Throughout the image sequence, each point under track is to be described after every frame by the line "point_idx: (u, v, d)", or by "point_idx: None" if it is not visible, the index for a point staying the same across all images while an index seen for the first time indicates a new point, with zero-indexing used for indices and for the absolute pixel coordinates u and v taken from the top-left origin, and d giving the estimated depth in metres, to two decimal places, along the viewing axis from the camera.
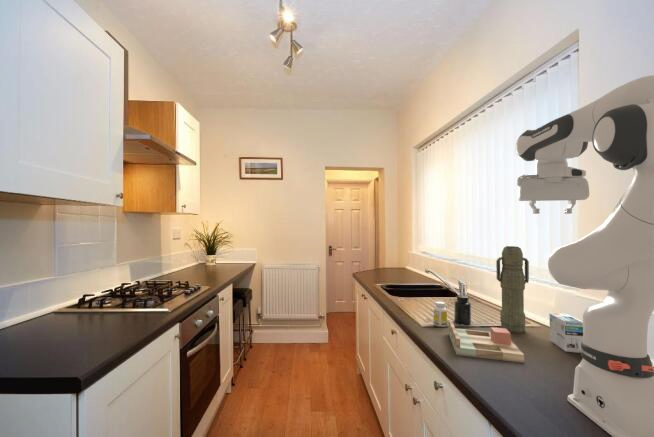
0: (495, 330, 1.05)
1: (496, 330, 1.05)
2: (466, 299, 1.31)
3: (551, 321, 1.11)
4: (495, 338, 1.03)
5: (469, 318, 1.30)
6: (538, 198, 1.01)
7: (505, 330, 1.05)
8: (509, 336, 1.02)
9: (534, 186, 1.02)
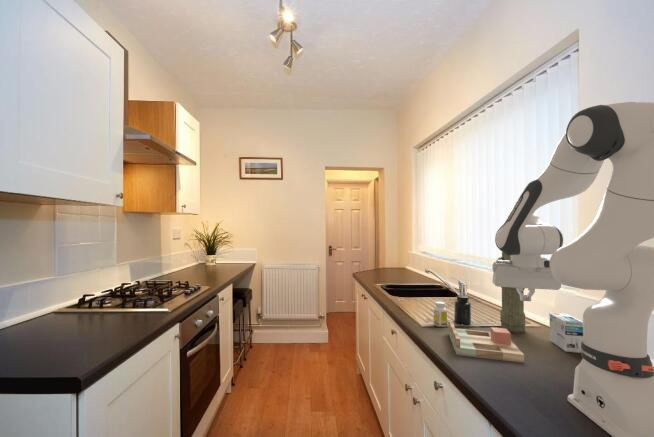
0: (495, 330, 1.05)
1: (496, 330, 1.05)
2: (466, 299, 1.31)
3: (551, 321, 1.11)
4: (495, 338, 1.03)
5: (469, 318, 1.30)
6: (512, 286, 1.03)
7: (505, 330, 1.05)
8: (509, 336, 1.02)
9: (508, 273, 1.03)
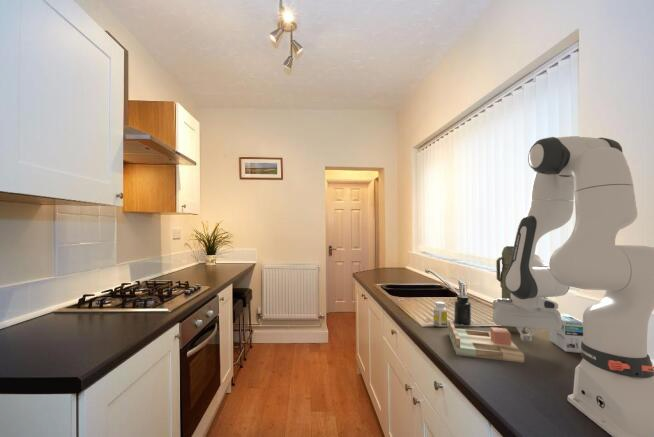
0: (495, 330, 1.05)
1: (496, 330, 1.05)
2: (466, 299, 1.31)
3: None
4: (495, 338, 1.03)
5: (469, 318, 1.30)
6: (512, 325, 1.02)
7: (505, 330, 1.05)
8: (509, 336, 1.02)
9: (508, 312, 1.03)
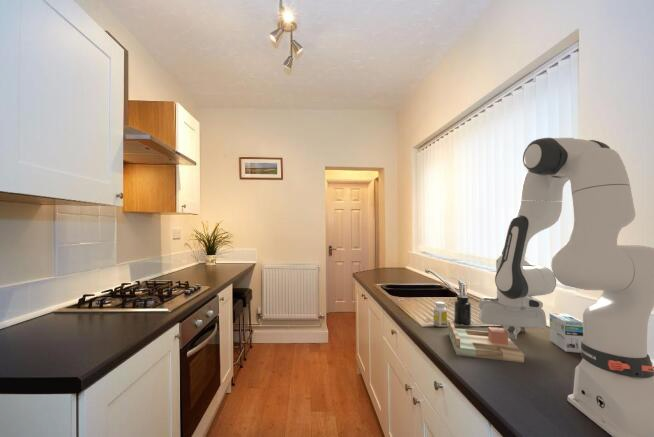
0: (492, 330, 1.05)
1: (494, 329, 1.05)
2: (466, 299, 1.31)
3: (551, 321, 1.11)
4: (492, 338, 1.03)
5: (469, 318, 1.30)
6: (498, 323, 1.04)
7: (502, 330, 1.05)
8: (506, 336, 1.02)
9: (494, 311, 1.04)
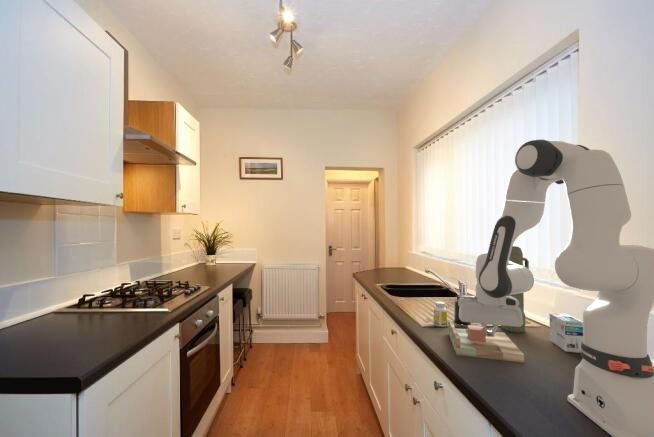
0: (471, 328, 1.07)
1: (472, 328, 1.07)
2: None
3: (551, 321, 1.11)
4: (470, 335, 1.05)
5: None
6: (476, 321, 1.06)
7: (481, 328, 1.07)
8: (484, 333, 1.04)
9: (472, 309, 1.06)
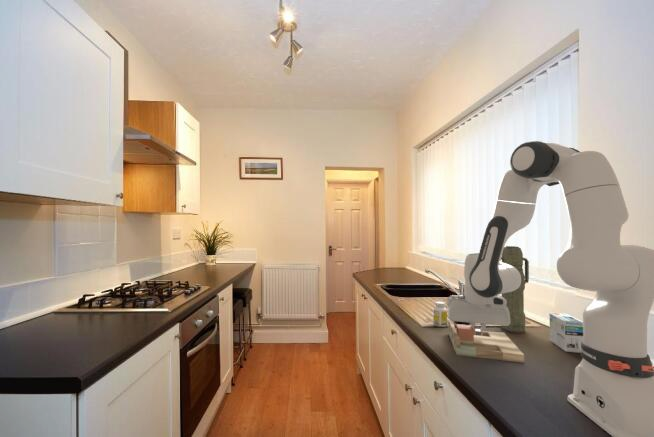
0: (459, 327, 1.08)
1: (461, 326, 1.08)
2: None
3: (551, 321, 1.11)
4: (459, 334, 1.06)
5: None
6: (464, 321, 1.07)
7: (469, 327, 1.08)
8: (472, 332, 1.05)
9: (461, 308, 1.07)
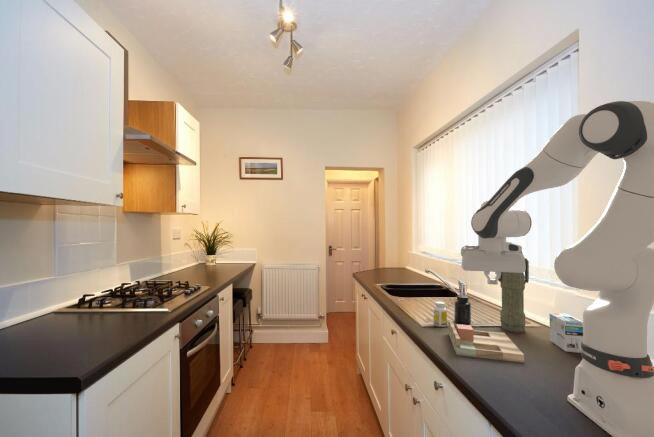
0: (459, 327, 1.08)
1: (461, 326, 1.08)
2: (466, 299, 1.31)
3: (551, 321, 1.11)
4: (459, 334, 1.06)
5: (469, 318, 1.30)
6: (479, 269, 1.06)
7: (469, 327, 1.08)
8: (472, 332, 1.05)
9: (475, 257, 1.06)
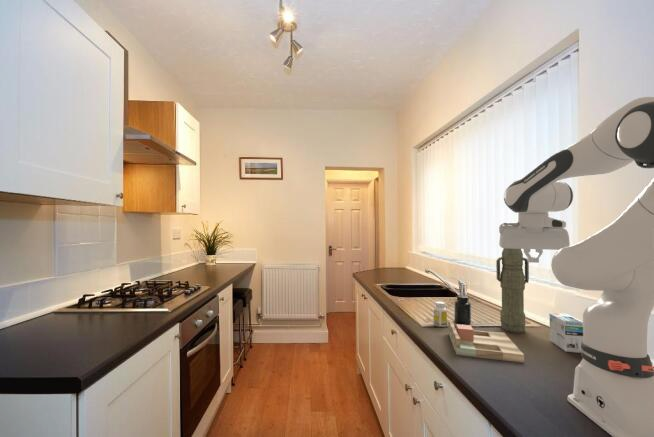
0: (459, 327, 1.08)
1: (461, 326, 1.08)
2: (466, 299, 1.31)
3: (551, 321, 1.11)
4: (459, 334, 1.06)
5: (469, 318, 1.30)
6: (519, 247, 1.02)
7: (469, 327, 1.08)
8: (472, 332, 1.05)
9: (515, 234, 1.02)
